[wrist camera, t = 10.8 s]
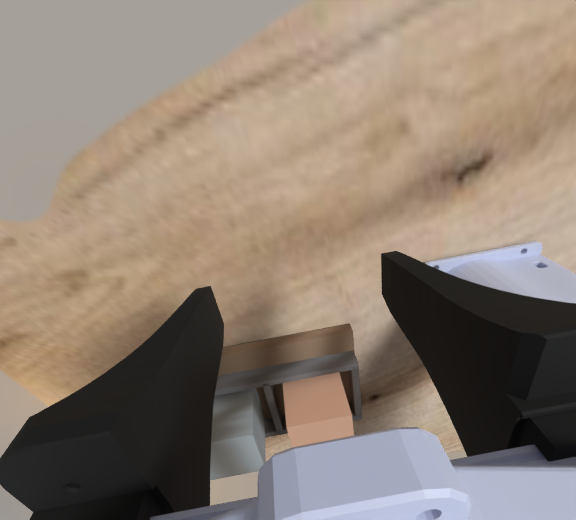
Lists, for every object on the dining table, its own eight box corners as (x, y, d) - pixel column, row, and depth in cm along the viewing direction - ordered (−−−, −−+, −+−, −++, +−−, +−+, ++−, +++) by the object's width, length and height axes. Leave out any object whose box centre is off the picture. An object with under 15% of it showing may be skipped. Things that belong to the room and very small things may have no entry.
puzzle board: (349, 323, 26) (372, 380, 21) (356, 409, 32) (376, 470, 27) (168, 357, 26) (146, 423, 21) (208, 437, 32) (199, 504, 27)
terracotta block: (336, 363, 27) (351, 414, 23) (341, 398, 29) (355, 451, 25) (281, 374, 27) (286, 427, 23) (290, 408, 29) (296, 463, 25)
